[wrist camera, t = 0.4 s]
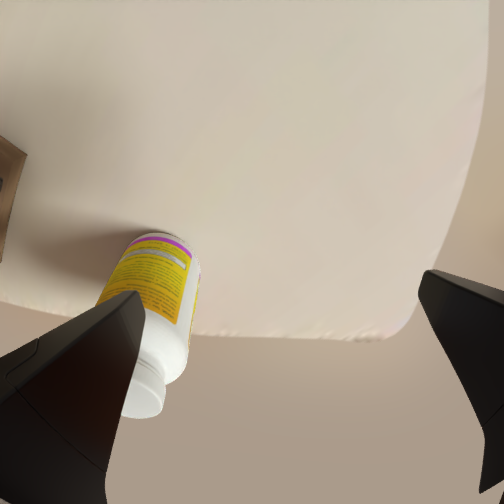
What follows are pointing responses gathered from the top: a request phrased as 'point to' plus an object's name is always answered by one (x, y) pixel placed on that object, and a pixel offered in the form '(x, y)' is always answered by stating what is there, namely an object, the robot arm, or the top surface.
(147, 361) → the supplement bottle
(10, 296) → the top surface
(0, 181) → the gray flat bar
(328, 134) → the top surface
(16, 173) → the brown piece
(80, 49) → the top surface
